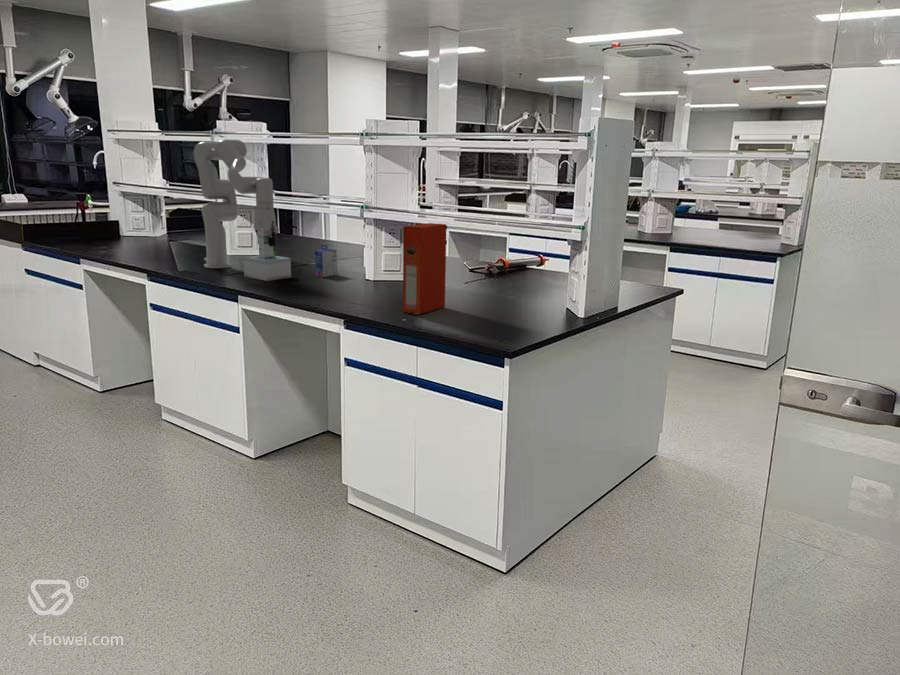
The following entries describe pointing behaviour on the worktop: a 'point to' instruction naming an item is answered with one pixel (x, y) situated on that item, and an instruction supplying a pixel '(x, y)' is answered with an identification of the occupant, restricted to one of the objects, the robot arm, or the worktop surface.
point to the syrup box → (265, 246)
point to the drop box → (267, 268)
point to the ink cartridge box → (326, 262)
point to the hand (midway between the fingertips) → (266, 244)
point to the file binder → (424, 267)
